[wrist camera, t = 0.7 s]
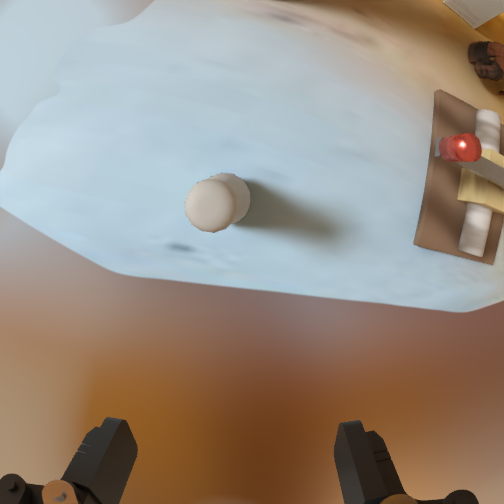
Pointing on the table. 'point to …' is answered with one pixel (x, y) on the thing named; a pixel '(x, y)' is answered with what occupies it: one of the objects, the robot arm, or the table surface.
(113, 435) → the robot arm
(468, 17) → the supplement box
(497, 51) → the pottery mug
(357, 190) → the table surface
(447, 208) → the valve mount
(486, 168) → the valve lever
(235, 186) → the salt shaker
